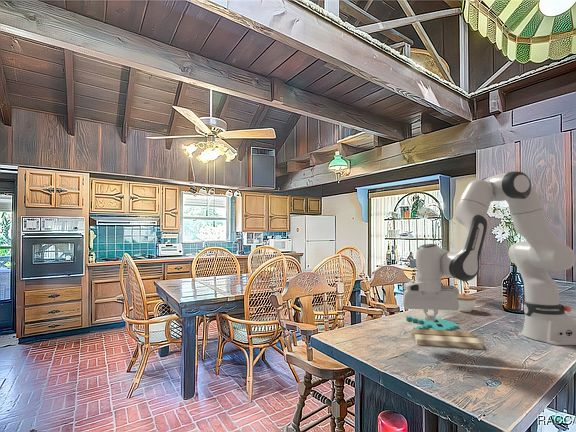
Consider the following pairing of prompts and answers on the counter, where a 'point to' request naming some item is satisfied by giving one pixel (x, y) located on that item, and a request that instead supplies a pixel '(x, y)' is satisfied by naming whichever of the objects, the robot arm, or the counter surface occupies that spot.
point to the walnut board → (443, 333)
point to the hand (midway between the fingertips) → (431, 320)
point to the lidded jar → (466, 302)
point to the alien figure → (434, 324)
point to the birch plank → (448, 341)
